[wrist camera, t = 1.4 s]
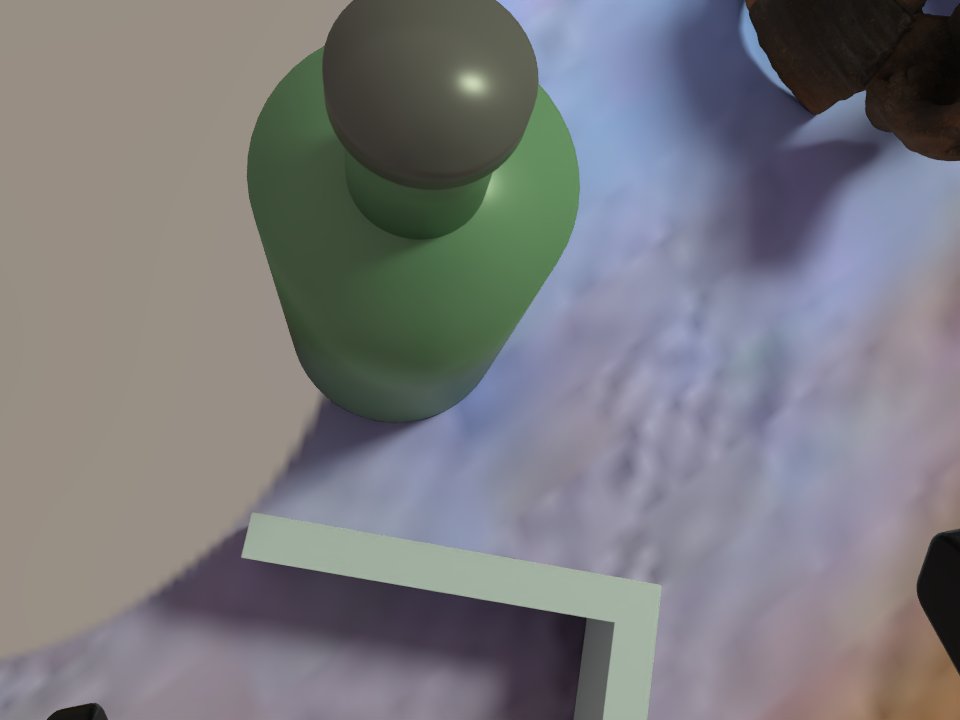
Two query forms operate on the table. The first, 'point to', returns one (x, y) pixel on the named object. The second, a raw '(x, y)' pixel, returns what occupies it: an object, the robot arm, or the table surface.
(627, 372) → the table surface
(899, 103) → the pottery mug
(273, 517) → the u rest
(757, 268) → the table surface
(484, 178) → the bottle
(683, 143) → the table surface
